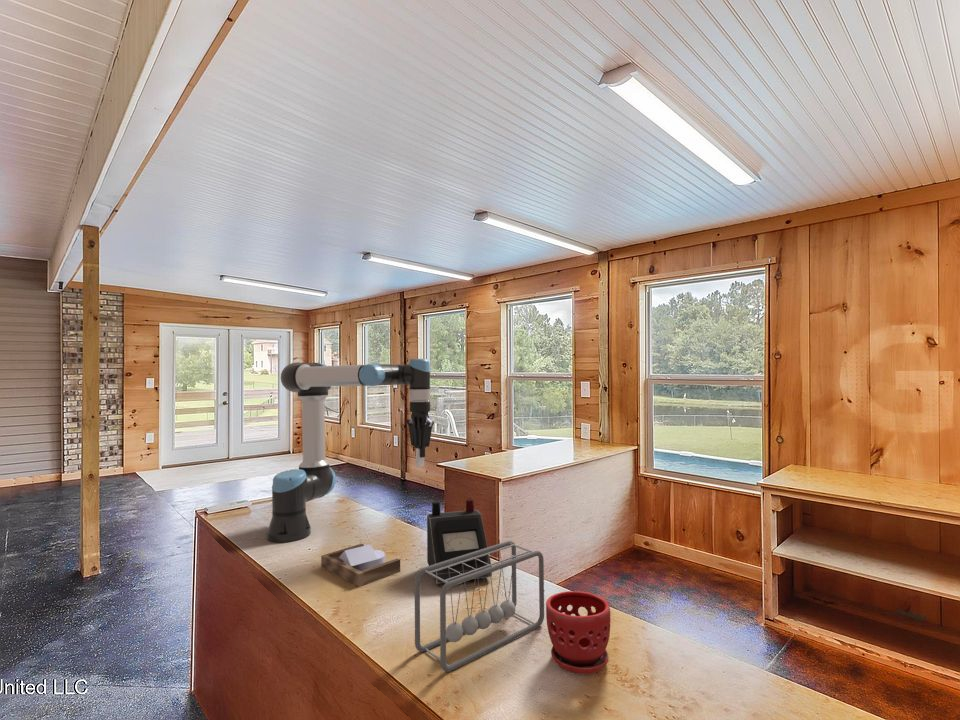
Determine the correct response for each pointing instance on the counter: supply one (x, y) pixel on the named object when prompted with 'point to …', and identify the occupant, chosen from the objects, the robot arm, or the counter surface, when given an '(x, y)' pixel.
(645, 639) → the counter surface
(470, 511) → the voltmeter
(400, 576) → the counter surface
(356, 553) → the wedge on round base
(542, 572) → the newton's cradle
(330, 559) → the walnut bay
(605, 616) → the plant pot
